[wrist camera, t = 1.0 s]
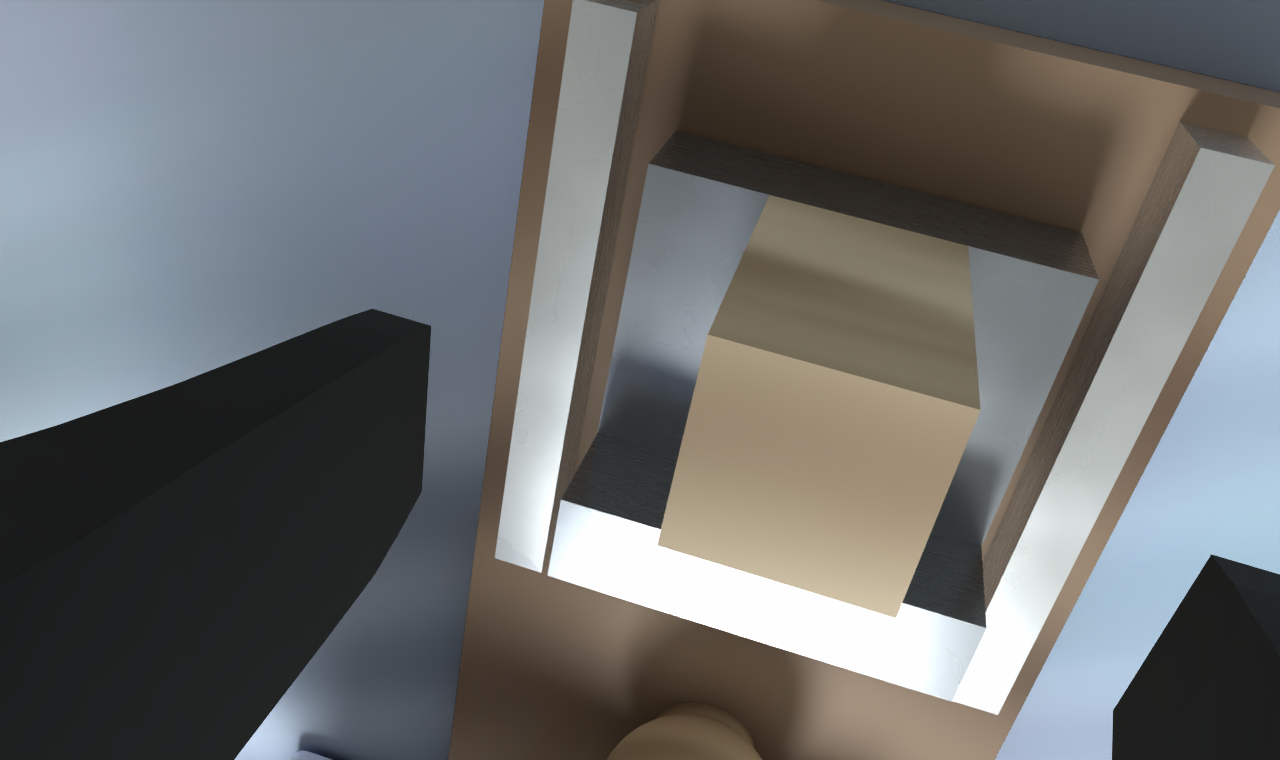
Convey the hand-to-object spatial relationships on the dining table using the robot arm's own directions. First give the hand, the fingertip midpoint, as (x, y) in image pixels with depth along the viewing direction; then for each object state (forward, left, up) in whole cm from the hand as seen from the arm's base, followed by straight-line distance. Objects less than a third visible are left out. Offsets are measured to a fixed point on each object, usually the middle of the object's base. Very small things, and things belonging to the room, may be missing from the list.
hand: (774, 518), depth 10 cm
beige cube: (-2, 0, -9) cm, 9 cm away
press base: (-8, 0, -11) cm, 13 cm away
